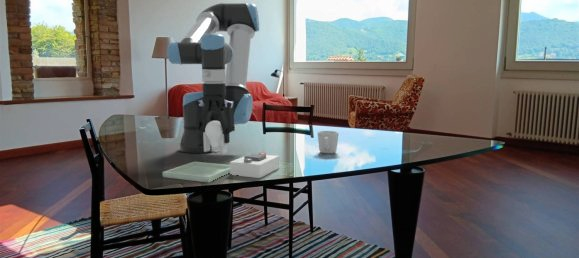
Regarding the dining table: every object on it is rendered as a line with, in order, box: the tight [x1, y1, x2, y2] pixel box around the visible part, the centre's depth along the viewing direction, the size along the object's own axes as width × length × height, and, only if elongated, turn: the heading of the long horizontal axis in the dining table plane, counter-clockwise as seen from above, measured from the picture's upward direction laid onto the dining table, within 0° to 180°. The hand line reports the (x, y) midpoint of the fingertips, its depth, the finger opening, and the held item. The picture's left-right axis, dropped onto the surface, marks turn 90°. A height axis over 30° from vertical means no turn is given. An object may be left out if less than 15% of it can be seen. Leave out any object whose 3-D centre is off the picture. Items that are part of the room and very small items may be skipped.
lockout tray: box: [162, 161, 230, 183], centre depth 128 cm, size 16×16×2 cm
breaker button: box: [243, 153, 267, 161], centre depth 131 cm, size 5×5×4 cm
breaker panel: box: [229, 152, 280, 179], centre depth 131 cm, size 10×14×5 cm
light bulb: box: [205, 121, 223, 154], centre depth 141 cm, size 7×7×11 cm
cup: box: [317, 130, 339, 155], centre depth 160 cm, size 11×8×8 cm
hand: (215, 151), depth 142 cm, fingers closed on light bulb, 6 cm apart
